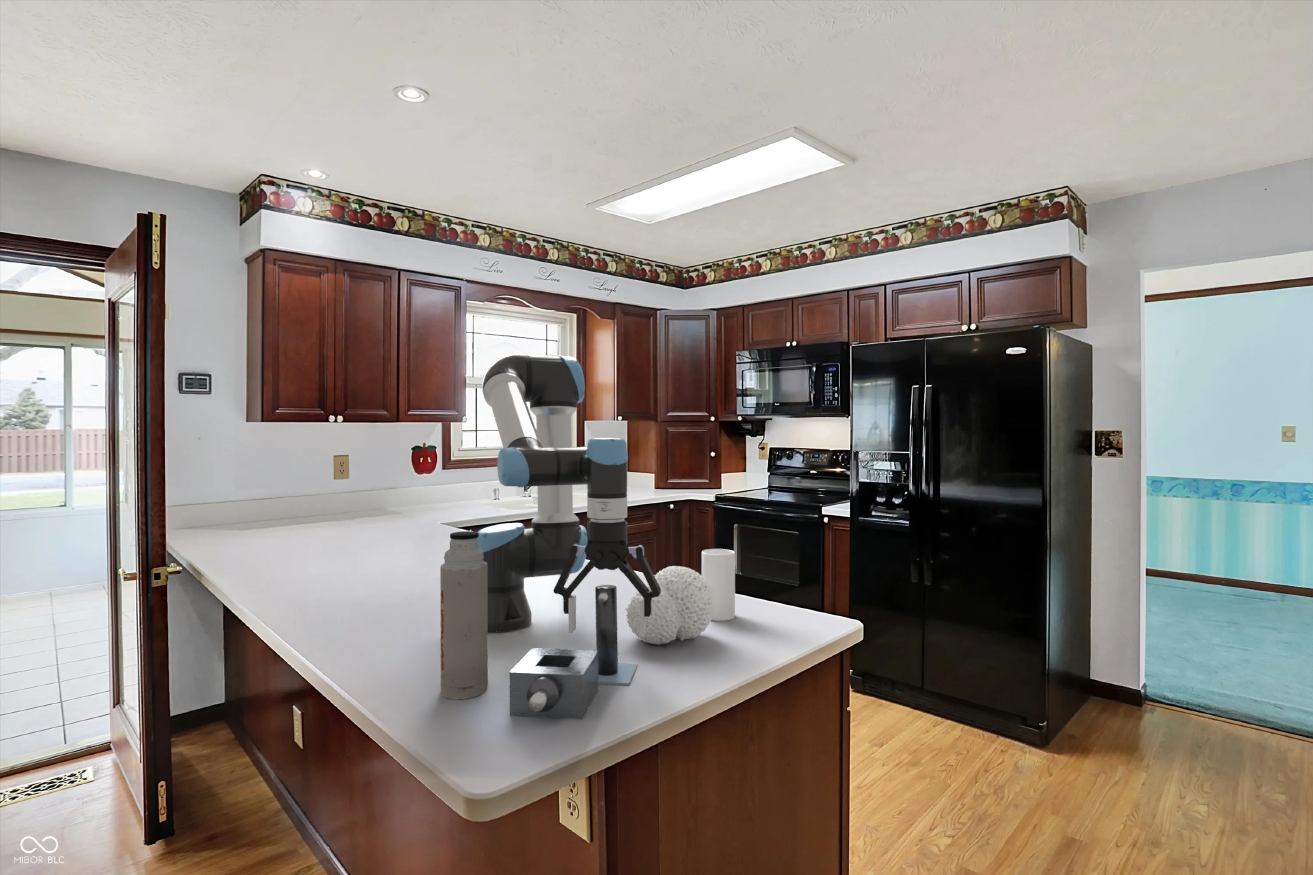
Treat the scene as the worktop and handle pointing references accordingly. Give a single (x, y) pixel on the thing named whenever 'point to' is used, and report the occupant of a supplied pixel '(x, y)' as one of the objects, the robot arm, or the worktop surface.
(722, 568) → the cup
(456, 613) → the thermos bottle
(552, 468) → the robot arm
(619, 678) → the mat
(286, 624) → the worktop surface
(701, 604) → the white coral
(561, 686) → the block
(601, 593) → the key
